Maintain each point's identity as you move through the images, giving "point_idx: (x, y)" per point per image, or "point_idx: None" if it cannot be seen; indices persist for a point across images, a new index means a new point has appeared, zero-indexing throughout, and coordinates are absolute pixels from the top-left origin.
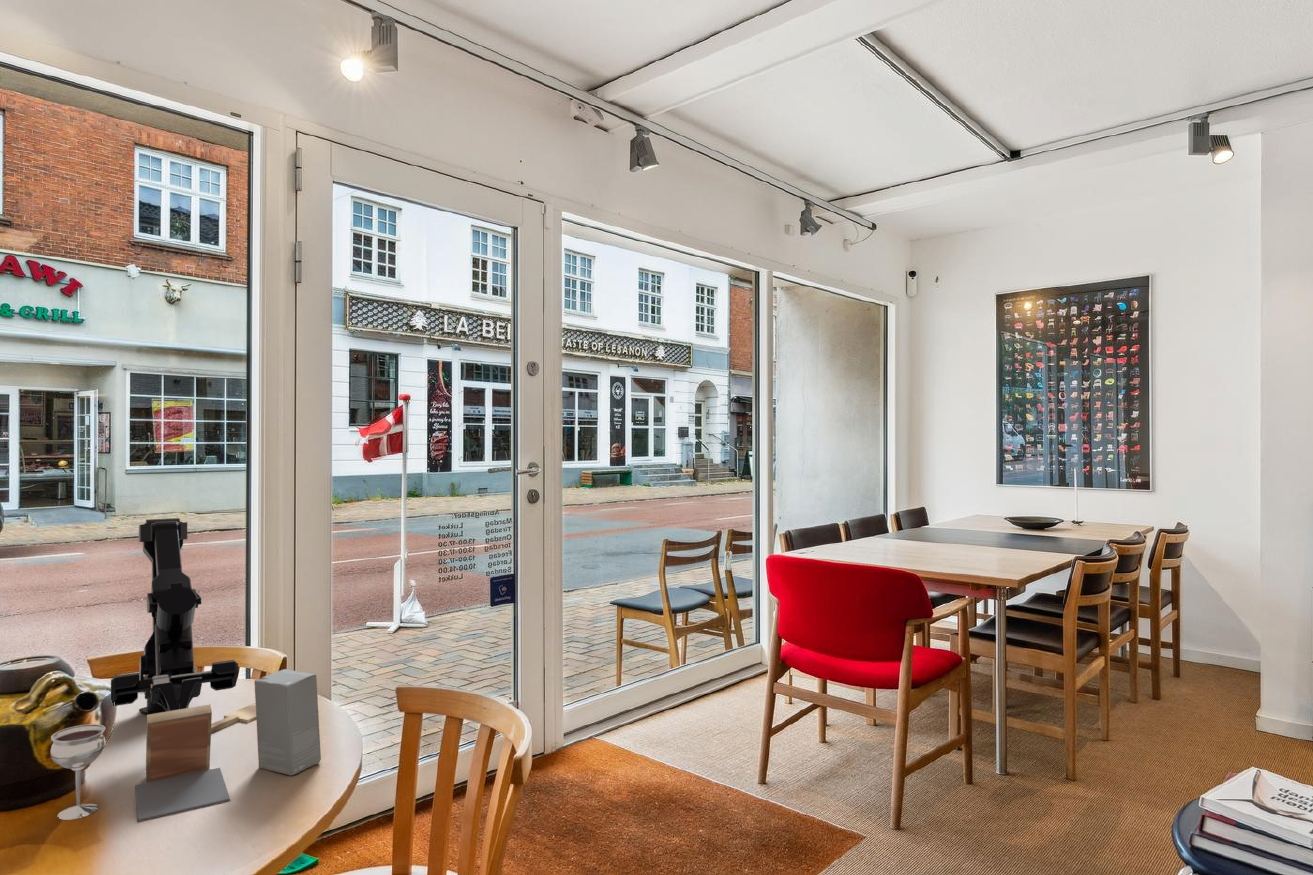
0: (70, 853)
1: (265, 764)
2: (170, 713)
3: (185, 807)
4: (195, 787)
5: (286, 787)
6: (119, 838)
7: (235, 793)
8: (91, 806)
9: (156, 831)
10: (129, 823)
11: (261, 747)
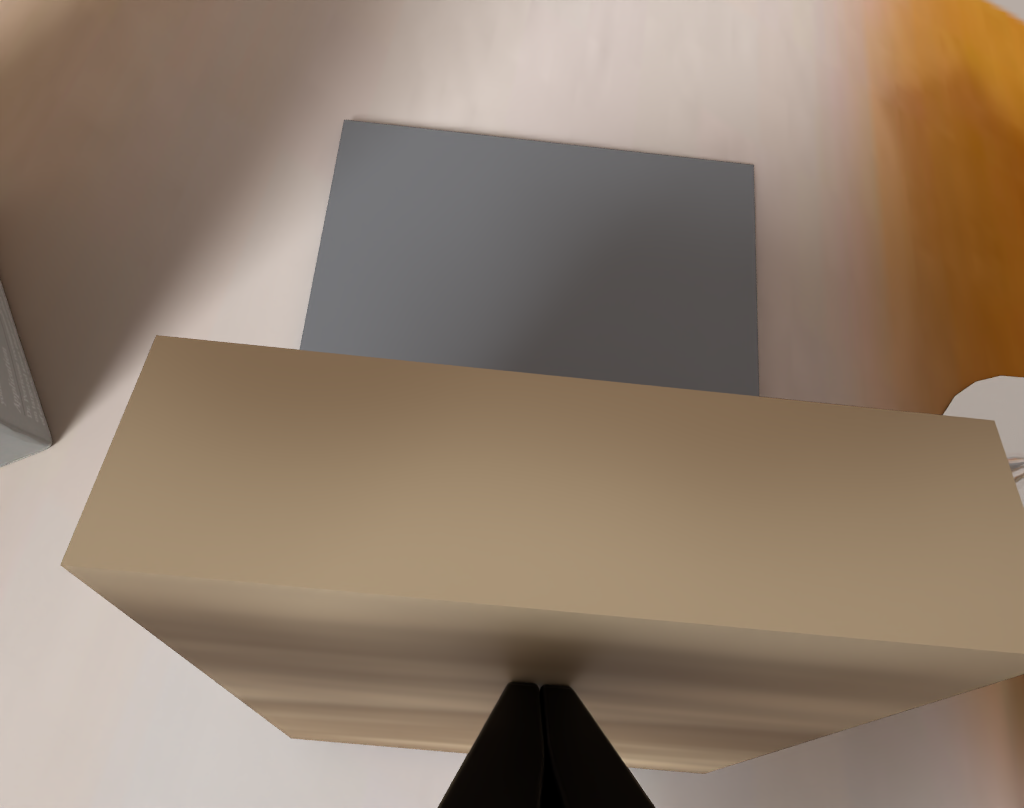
0: (986, 68)
1: (17, 366)
2: (714, 541)
3: (547, 157)
4: (458, 359)
5: (63, 100)
6: (819, 74)
7: (296, 187)
8: None
9: (681, 44)
10: (784, 179)
11: None
